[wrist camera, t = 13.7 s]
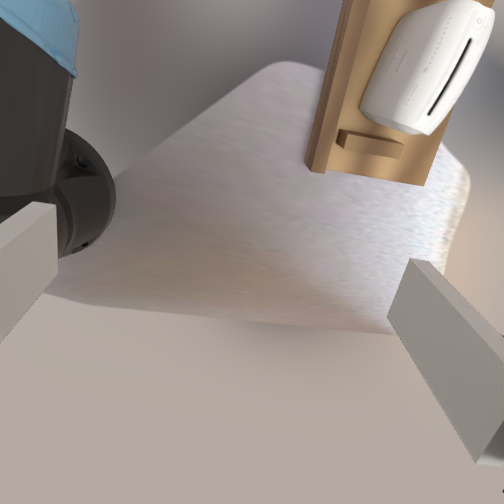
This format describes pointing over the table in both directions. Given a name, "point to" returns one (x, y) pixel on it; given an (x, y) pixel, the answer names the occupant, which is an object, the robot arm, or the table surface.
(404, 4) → the ledge shelf
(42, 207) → the robot arm
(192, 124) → the table surface
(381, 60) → the photo printer
